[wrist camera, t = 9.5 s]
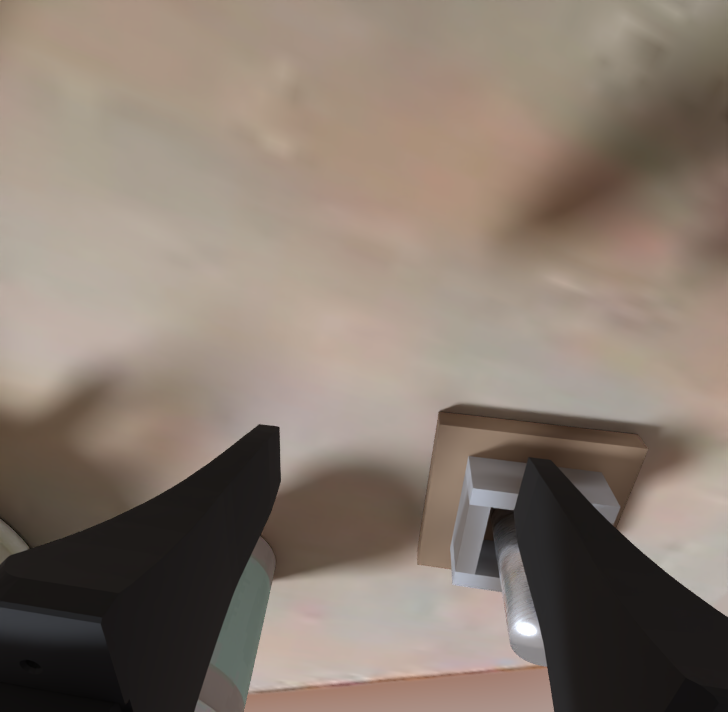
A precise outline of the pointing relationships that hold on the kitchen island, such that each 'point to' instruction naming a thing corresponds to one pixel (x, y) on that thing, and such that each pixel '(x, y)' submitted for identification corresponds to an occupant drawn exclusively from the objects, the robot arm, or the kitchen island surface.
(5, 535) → the kettle
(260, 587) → the coffee cup
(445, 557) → the block
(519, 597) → the shaft
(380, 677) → the kitchen island surface
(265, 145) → the kitchen island surface
